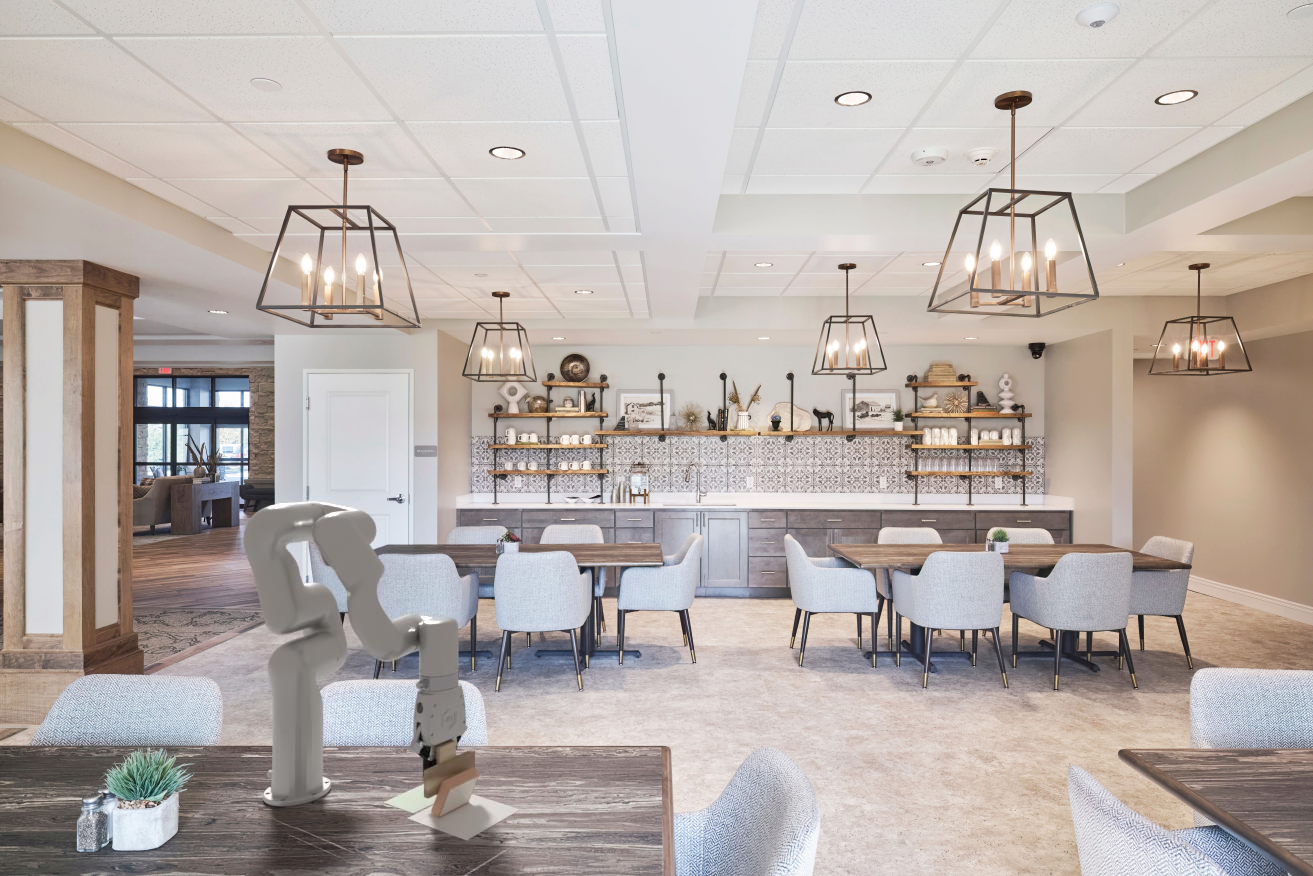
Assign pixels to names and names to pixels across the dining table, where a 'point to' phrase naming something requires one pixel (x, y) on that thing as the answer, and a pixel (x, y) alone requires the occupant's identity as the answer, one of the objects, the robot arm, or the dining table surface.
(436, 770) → the stepped beige block
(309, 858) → the dining table surface
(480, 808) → the mat
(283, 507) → the robot arm
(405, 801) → the pad
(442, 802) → the tile
